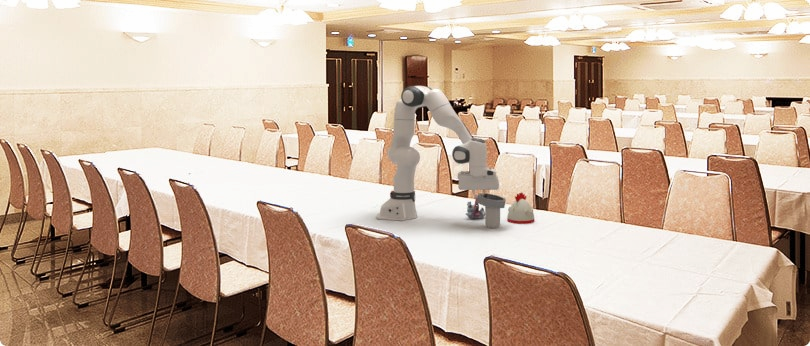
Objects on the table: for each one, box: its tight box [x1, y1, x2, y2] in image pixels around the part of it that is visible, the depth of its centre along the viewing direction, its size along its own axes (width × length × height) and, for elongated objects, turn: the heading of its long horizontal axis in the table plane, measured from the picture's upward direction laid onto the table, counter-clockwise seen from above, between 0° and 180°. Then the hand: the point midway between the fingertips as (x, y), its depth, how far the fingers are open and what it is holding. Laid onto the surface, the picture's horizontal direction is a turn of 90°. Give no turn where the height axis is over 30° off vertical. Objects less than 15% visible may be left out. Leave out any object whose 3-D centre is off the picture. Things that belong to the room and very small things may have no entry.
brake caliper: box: [465, 199, 485, 220], centre depth 348 cm, size 11×11×12 cm
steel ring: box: [476, 192, 507, 209], centre depth 326 cm, size 14×14×4 cm
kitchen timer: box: [506, 191, 535, 225], centre depth 338 cm, size 14×14×15 cm
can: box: [484, 206, 501, 229], centre depth 327 cm, size 8×8×12 cm
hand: (478, 198), depth 327 cm, fingers closed on steel ring, 2 cm apart
